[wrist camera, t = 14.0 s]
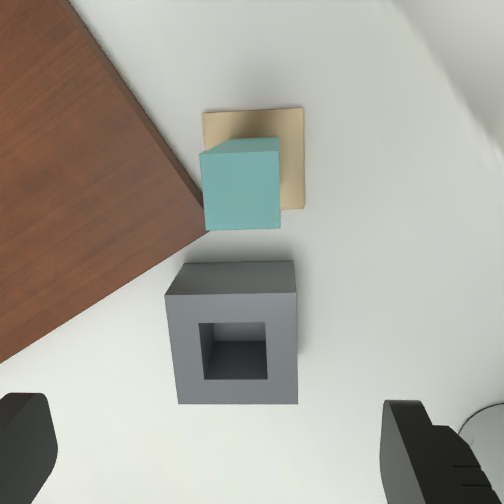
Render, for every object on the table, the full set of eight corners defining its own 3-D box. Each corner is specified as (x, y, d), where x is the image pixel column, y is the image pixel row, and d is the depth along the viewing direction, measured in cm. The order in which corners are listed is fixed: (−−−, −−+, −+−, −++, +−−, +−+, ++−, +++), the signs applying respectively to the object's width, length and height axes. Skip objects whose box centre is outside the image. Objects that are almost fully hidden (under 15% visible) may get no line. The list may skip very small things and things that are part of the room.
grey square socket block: (293, 260, 37) (296, 292, 31) (295, 356, 40) (298, 404, 34) (184, 263, 38) (164, 295, 31) (194, 357, 41) (178, 404, 34)
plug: (278, 136, 33) (278, 150, 21) (279, 186, 34) (280, 228, 22) (229, 138, 33) (199, 154, 21) (232, 188, 34) (205, 230, 22)
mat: (302, 108, 33) (303, 107, 32) (303, 206, 35) (304, 208, 35) (204, 113, 34) (202, 113, 33) (212, 209, 36) (210, 211, 35)
